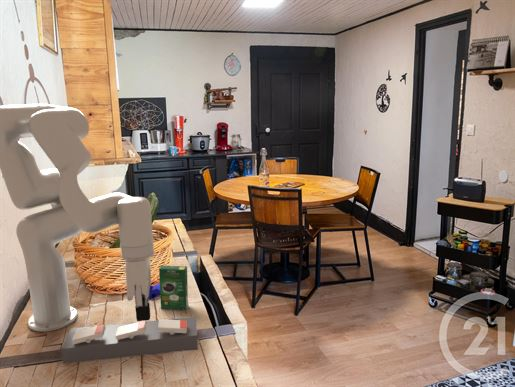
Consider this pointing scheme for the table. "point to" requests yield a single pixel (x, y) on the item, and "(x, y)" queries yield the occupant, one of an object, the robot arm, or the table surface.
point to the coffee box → (173, 287)
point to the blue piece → (154, 291)
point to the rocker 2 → (131, 330)
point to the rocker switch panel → (130, 343)
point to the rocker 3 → (172, 326)
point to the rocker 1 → (89, 334)
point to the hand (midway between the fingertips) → (143, 318)
